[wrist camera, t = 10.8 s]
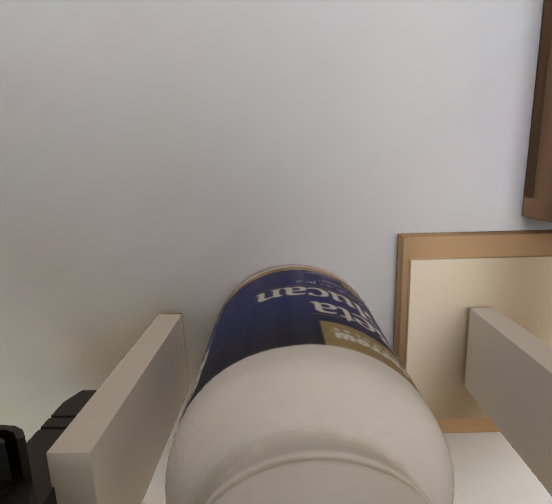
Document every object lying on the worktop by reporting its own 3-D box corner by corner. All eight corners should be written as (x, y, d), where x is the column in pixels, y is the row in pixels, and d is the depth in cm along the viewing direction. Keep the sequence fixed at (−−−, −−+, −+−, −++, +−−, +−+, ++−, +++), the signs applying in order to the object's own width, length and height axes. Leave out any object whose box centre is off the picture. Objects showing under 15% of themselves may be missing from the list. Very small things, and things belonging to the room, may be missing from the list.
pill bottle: (380, 266, 14) (610, 495, 4) (361, 410, 15) (510, 836, 6) (218, 254, 14) (99, 464, 4) (211, 400, 15) (105, 819, 6)
